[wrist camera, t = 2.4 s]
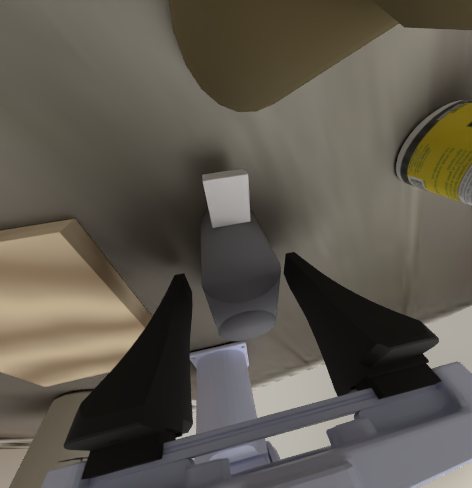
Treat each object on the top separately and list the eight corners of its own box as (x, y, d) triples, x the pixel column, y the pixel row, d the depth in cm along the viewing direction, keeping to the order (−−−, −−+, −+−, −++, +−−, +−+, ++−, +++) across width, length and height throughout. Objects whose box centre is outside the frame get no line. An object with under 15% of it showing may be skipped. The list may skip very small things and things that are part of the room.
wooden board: (173, 344, 21) (171, 357, 20) (54, 371, 20) (45, 386, 19) (75, 218, 10) (59, 232, 9) (-201, 263, 9) (-260, 285, 8)
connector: (257, 282, 17) (274, 333, 13) (217, 291, 17) (222, 345, 13) (253, 157, 10) (288, 185, 6) (183, 167, 10) (173, 204, 6)
